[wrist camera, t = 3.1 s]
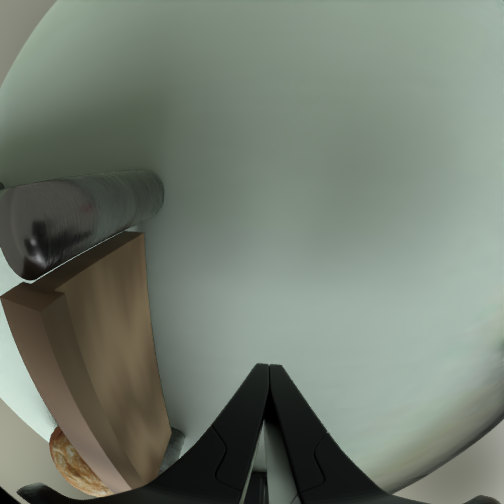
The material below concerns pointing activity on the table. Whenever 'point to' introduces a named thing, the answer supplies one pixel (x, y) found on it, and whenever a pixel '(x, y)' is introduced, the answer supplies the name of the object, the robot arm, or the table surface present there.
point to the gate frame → (76, 226)
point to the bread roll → (75, 466)
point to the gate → (97, 358)
